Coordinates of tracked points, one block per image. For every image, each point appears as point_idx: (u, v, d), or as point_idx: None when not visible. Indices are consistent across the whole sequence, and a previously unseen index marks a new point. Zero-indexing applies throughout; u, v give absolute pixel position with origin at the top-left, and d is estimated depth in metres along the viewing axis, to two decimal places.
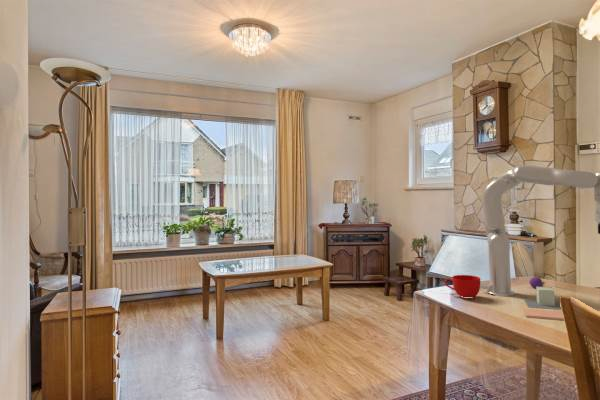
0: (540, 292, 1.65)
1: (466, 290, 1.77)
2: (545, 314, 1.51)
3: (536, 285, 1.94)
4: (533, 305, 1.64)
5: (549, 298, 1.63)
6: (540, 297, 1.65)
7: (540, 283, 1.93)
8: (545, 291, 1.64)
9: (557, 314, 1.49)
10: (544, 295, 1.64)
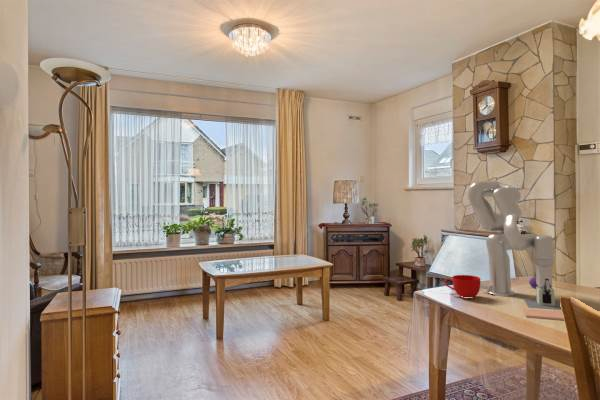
0: (540, 292, 1.65)
1: (466, 290, 1.77)
2: (545, 314, 1.51)
3: (535, 285, 1.94)
4: (533, 305, 1.64)
5: None
6: (540, 297, 1.65)
7: None
8: None
9: (557, 314, 1.49)
10: None
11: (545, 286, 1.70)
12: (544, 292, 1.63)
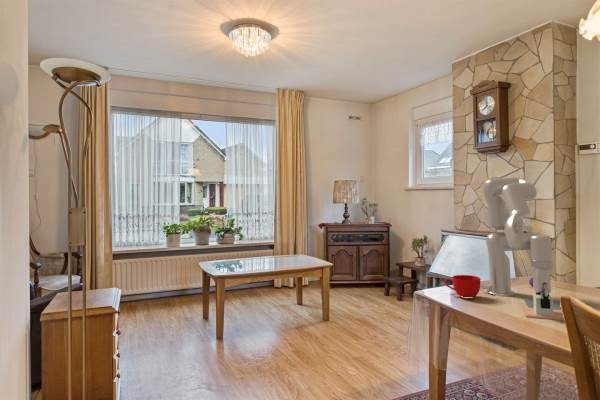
0: (537, 301, 1.50)
1: (466, 290, 1.77)
2: None
3: None
4: (533, 305, 1.64)
5: None
6: (537, 306, 1.50)
7: None
8: None
9: (557, 314, 1.49)
10: None
11: None
12: (542, 296, 1.47)
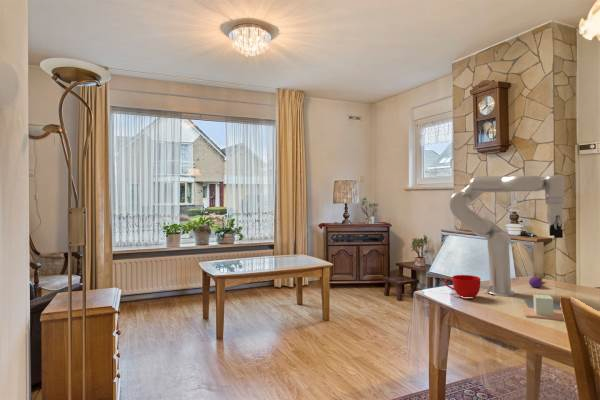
0: (537, 301, 1.50)
1: (466, 290, 1.77)
2: None
3: (535, 285, 1.95)
4: (533, 305, 1.64)
5: (548, 307, 1.48)
6: (537, 306, 1.50)
7: (539, 283, 1.94)
8: (543, 300, 1.49)
9: (557, 314, 1.49)
10: (542, 304, 1.49)
11: None
12: (556, 226, 1.68)
